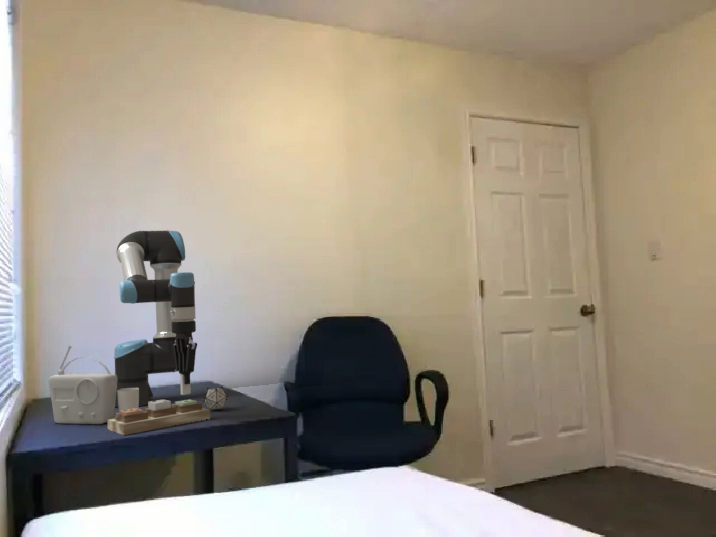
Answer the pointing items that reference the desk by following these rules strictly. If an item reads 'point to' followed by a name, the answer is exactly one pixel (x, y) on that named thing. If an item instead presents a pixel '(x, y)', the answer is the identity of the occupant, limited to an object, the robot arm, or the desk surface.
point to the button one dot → (185, 402)
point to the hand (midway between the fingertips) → (185, 393)
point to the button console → (157, 418)
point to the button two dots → (159, 404)
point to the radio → (83, 396)
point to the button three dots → (131, 411)
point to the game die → (215, 398)
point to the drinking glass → (128, 398)
